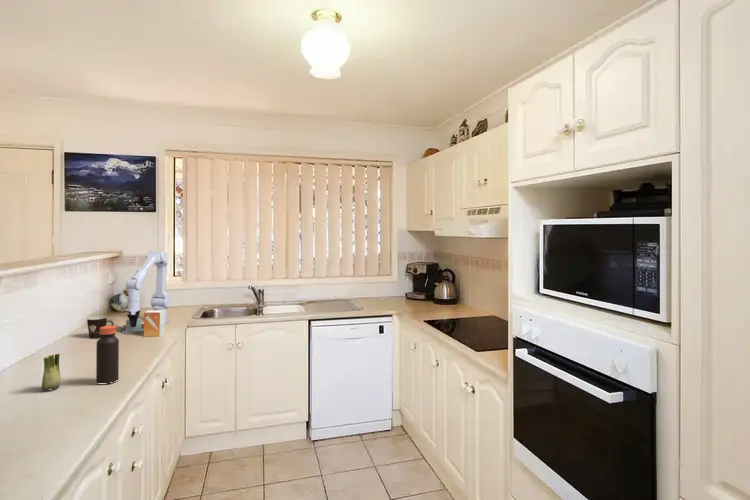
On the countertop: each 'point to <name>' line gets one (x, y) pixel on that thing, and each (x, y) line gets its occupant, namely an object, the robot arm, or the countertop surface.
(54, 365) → the fennel bulb
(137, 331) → the rubber mat
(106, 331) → the bottle
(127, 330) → the painted block
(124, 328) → the walnut frame
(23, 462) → the countertop surface
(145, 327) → the small box
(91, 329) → the coffee mug
